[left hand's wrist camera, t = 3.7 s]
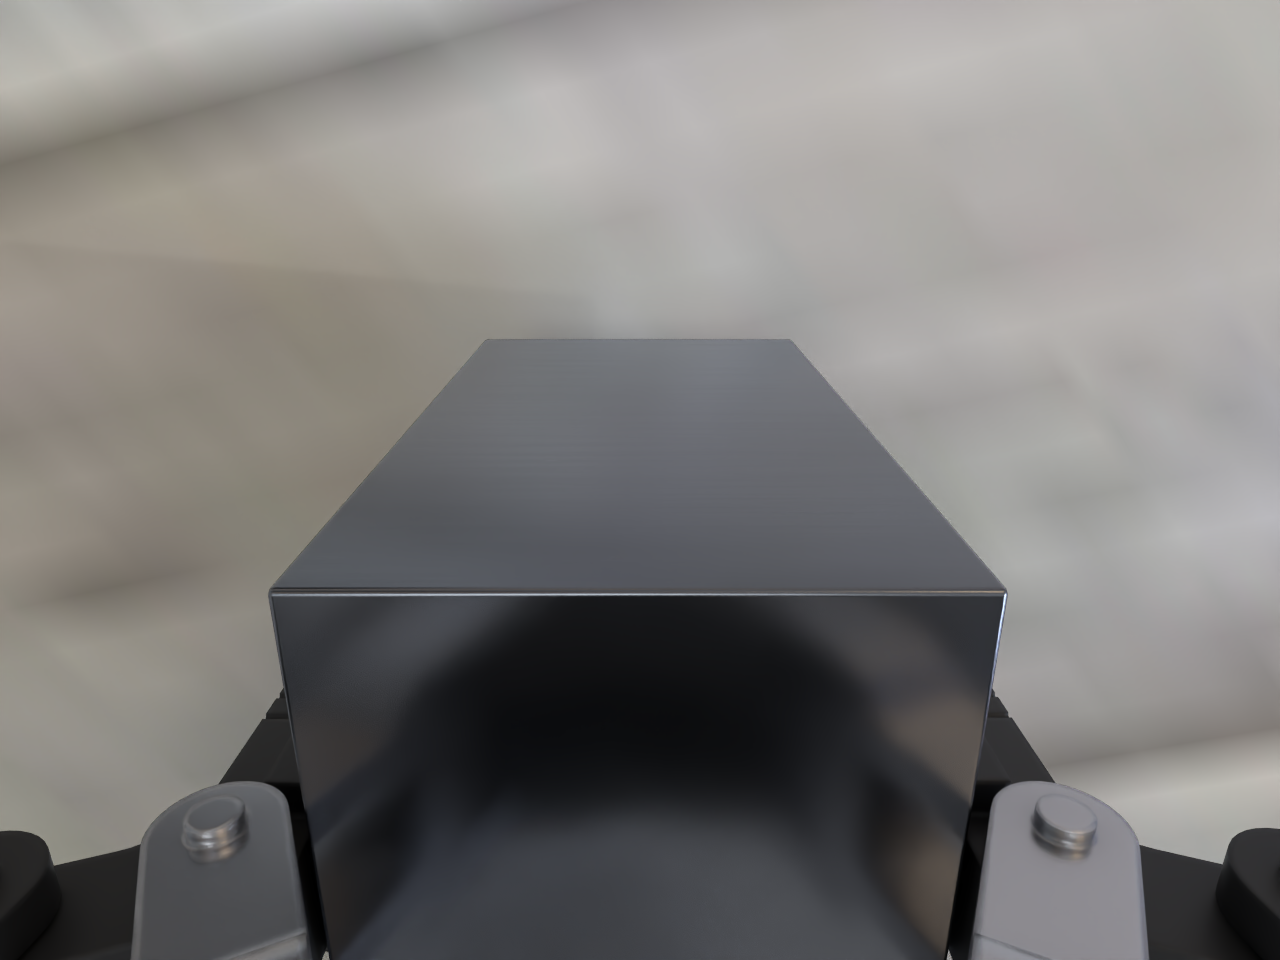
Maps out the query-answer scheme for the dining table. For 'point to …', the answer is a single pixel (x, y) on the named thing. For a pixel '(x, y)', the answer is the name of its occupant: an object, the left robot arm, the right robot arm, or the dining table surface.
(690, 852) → the box
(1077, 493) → the dining table surface
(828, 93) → the dining table surface
